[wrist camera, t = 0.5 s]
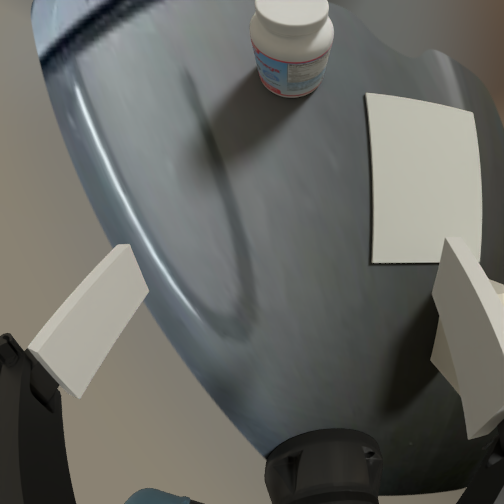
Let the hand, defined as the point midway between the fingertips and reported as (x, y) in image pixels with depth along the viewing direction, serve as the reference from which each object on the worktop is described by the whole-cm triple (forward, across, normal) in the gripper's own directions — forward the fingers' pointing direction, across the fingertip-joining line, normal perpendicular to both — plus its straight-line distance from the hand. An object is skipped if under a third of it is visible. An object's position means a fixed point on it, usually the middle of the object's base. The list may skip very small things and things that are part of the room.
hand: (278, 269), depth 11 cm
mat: (+17, -13, +2) cm, 22 cm away
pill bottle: (+20, 0, -8) cm, 22 cm away
